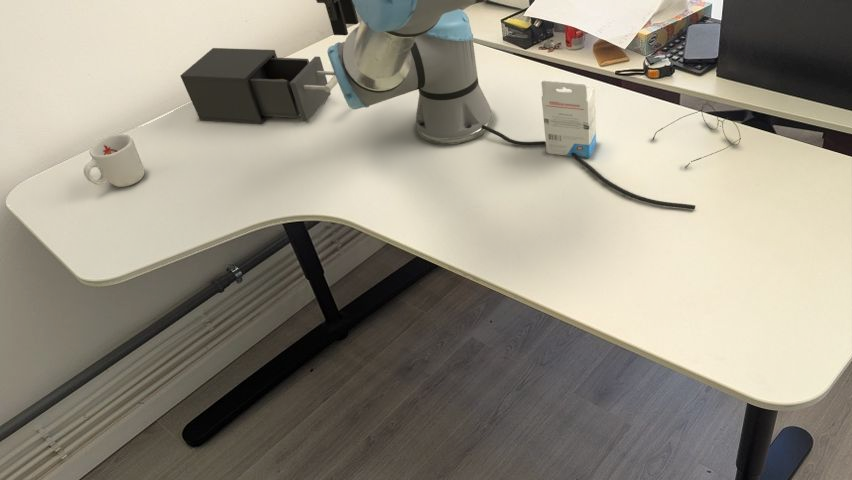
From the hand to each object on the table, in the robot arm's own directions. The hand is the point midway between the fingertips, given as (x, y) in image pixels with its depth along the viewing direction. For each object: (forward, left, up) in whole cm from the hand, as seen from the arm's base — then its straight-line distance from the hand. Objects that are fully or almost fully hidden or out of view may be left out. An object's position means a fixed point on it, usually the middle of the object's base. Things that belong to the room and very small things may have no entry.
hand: (346, 28), depth 139 cm
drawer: (+15, 0, -18) cm, 24 cm away
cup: (+40, +30, -19) cm, 53 cm away
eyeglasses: (-67, +4, -19) cm, 70 cm away
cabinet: (+30, 0, -19) cm, 35 cm away
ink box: (-45, +8, -19) cm, 49 cm away
